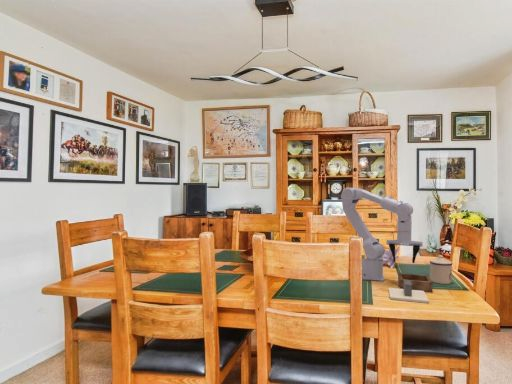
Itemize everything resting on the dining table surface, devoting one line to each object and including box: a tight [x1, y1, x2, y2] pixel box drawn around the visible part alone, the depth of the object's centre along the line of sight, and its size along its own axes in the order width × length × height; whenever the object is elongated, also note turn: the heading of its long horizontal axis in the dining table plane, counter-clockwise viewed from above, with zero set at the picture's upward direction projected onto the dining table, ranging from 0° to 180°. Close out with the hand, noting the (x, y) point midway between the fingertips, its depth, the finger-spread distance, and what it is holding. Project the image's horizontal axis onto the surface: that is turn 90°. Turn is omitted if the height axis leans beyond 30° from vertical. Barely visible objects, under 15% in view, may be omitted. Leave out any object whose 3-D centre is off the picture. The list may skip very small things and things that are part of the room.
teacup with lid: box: [429, 254, 453, 285], centre depth 162 cm, size 12×9×12 cm
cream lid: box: [388, 280, 430, 304], centre depth 138 cm, size 13×13×6 cm
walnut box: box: [397, 272, 434, 293], centre depth 151 cm, size 12×12×4 cm
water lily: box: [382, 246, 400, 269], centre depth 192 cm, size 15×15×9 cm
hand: (403, 262), depth 157 cm, fingers open, 7 cm apart
